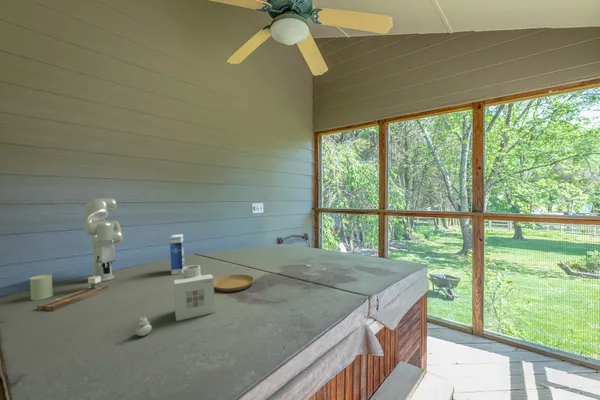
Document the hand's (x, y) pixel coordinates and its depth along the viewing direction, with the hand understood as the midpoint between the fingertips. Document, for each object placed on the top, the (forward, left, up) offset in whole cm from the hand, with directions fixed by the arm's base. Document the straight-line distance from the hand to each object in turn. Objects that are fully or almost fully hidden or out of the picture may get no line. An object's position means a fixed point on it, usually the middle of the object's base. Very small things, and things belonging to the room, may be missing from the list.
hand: (106, 273), depth 167 cm
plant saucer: (+76, +12, -9) cm, 78 cm away
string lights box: (+23, +34, -8) cm, 43 cm away
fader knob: (-1, -8, -6) cm, 10 cm away
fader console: (-1, -19, -8) cm, 20 cm away
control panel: (+72, -22, -8) cm, 76 cm away
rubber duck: (+66, -46, -9) cm, 81 cm away
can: (-23, -20, -8) cm, 31 cm away
